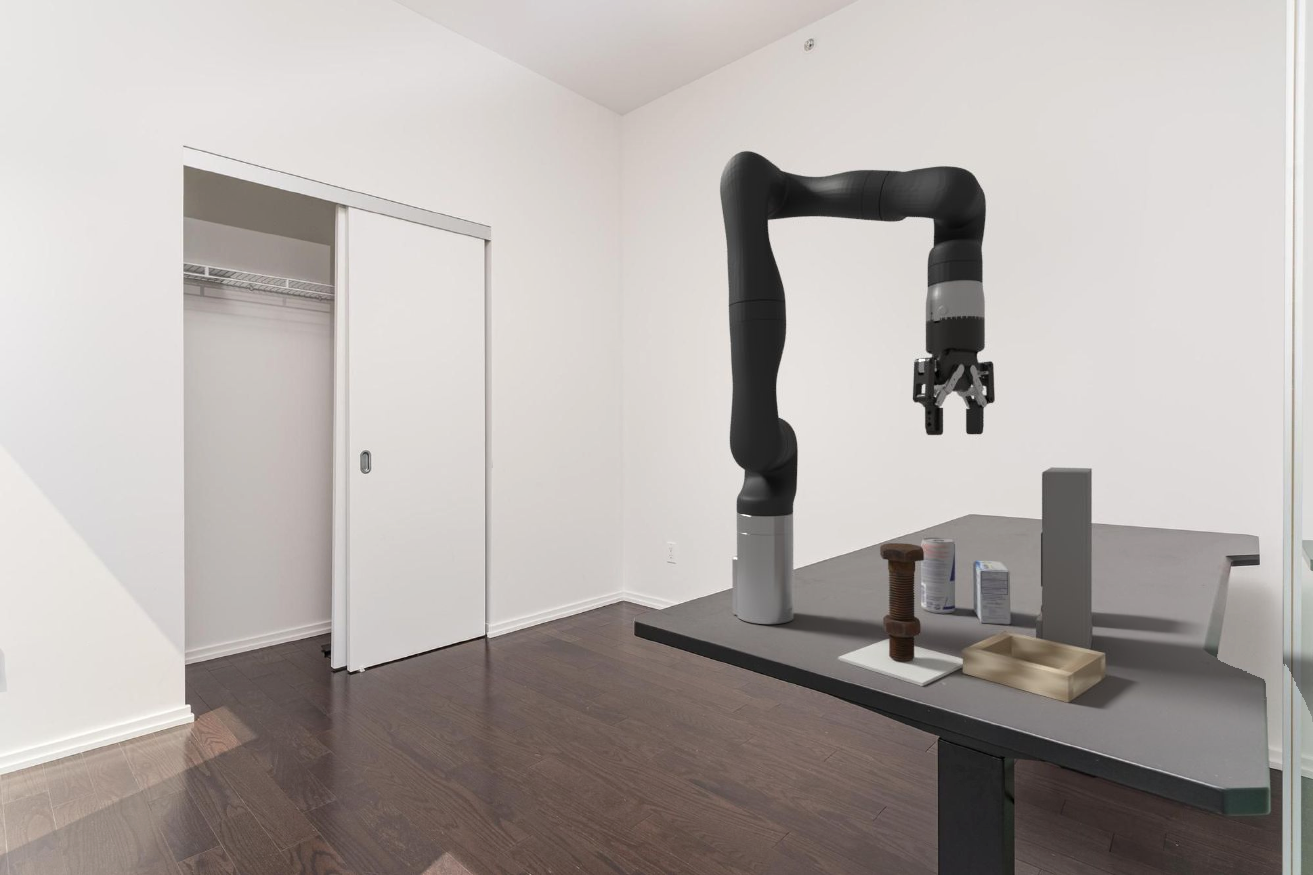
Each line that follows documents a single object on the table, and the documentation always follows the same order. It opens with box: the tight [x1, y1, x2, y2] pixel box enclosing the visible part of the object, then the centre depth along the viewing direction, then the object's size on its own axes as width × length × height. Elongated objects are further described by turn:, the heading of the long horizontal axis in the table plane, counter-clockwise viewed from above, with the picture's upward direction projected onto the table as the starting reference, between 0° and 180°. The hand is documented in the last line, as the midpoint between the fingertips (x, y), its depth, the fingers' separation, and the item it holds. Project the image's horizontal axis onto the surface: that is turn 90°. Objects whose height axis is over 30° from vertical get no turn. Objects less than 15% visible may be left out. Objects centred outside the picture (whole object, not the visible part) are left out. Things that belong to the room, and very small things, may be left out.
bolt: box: [879, 542, 924, 661], centre depth 88 cm, size 6×5×15 cm
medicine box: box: [972, 560, 1011, 626], centre depth 109 cm, size 8×4×9 cm, turn 162°
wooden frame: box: [962, 630, 1106, 704], centre depth 83 cm, size 12×12×3 cm
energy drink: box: [920, 537, 956, 615], centre depth 114 cm, size 5×5×12 cm
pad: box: [837, 638, 963, 687], centre depth 88 cm, size 12×12×1 cm
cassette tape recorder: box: [1035, 467, 1094, 650], centre depth 95 cm, size 14×6×25 cm, turn 145°
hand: (954, 434), depth 93 cm, fingers open, 8 cm apart
